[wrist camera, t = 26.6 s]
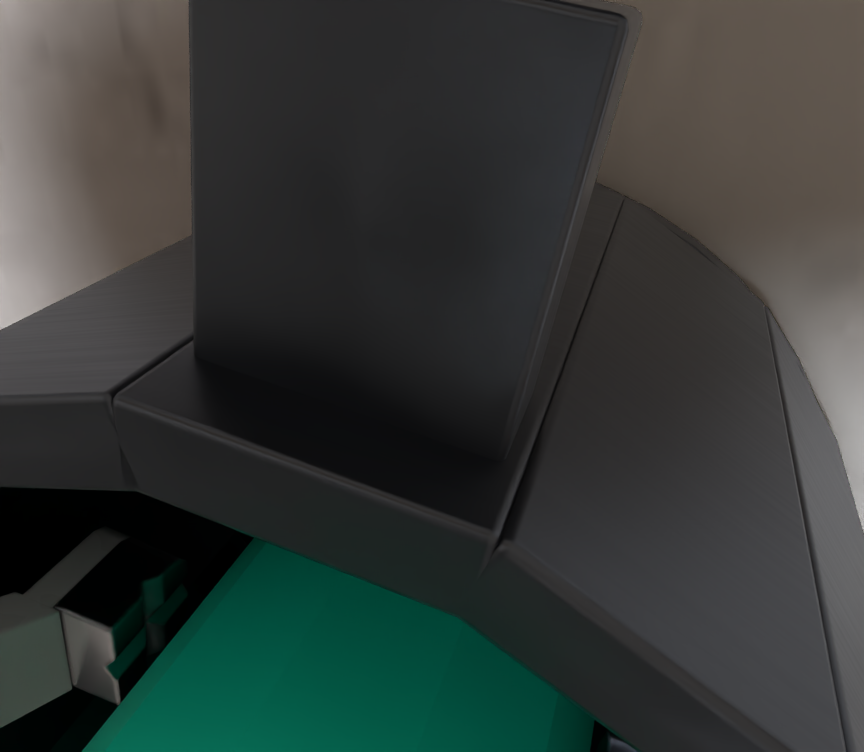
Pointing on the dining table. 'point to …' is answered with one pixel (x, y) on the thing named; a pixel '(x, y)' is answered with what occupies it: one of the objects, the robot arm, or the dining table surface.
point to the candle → (333, 675)
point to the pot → (451, 381)
